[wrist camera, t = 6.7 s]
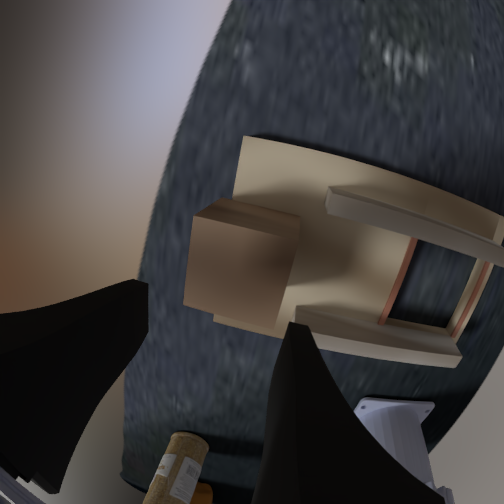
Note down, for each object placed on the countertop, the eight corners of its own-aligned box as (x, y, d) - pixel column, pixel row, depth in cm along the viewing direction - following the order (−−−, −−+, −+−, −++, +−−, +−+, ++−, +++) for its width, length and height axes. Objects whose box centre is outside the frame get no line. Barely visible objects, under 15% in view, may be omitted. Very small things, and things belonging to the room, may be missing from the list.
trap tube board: (438, 357, 19) (452, 386, 15) (217, 313, 20) (201, 343, 17) (501, 216, 14) (530, 230, 11) (247, 136, 16) (232, 133, 13)
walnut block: (281, 287, 18) (273, 329, 13) (210, 268, 18) (183, 304, 14) (300, 216, 16) (298, 241, 12) (221, 197, 16) (193, 215, 12)
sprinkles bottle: (168, 426, 27) (121, 521, 15) (207, 434, 26) (167, 538, 14) (177, 446, 29) (139, 533, 16) (213, 453, 28) (181, 547, 15)
